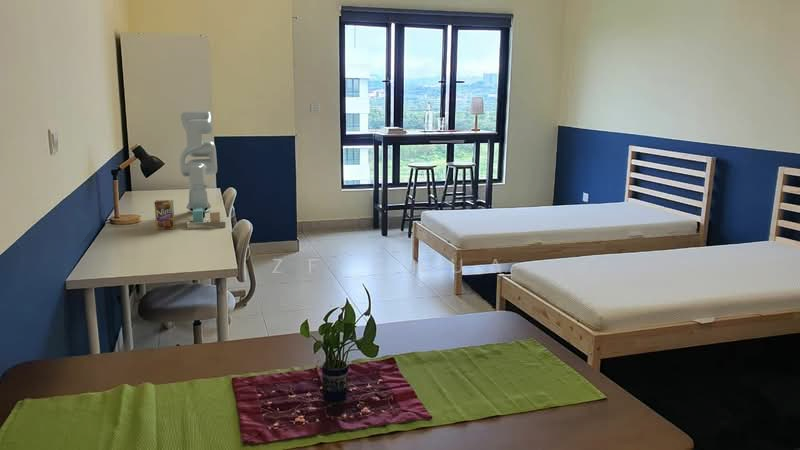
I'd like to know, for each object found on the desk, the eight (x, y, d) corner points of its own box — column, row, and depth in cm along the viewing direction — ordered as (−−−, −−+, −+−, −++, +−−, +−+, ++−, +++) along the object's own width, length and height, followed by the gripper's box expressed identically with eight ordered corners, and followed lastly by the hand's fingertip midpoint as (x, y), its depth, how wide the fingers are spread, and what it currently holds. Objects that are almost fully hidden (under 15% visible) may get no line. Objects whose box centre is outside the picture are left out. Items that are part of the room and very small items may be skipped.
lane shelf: (188, 224, 340) (188, 219, 339) (225, 223, 344) (225, 217, 344) (187, 229, 330) (186, 223, 329) (225, 227, 335) (225, 221, 334)
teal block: (195, 219, 352) (194, 205, 351) (204, 219, 354) (203, 205, 352) (193, 225, 338) (192, 211, 336) (203, 225, 339) (202, 210, 337)
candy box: (156, 229, 328) (153, 201, 325) (158, 227, 332) (155, 199, 329) (173, 229, 329) (171, 201, 326) (175, 227, 334) (173, 199, 330)
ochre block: (211, 225, 340) (210, 210, 338) (220, 224, 341) (219, 210, 339) (210, 227, 335) (209, 212, 333) (220, 226, 336) (219, 212, 334)
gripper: (212, 185, 353) (214, 217, 357) (182, 186, 349) (184, 218, 353) (212, 187, 346) (214, 219, 350) (181, 188, 342) (183, 221, 346)
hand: (199, 218), depth 351 cm, fingers closed on teal block, 3 cm apart
